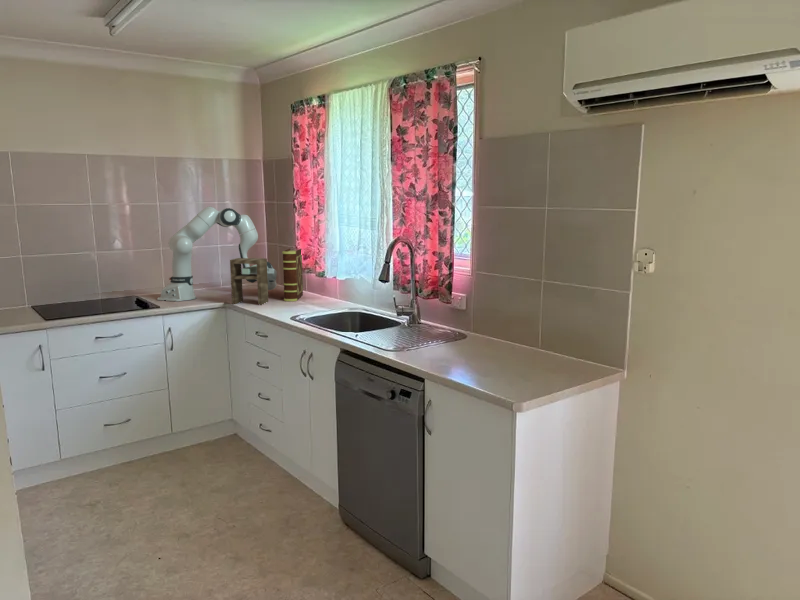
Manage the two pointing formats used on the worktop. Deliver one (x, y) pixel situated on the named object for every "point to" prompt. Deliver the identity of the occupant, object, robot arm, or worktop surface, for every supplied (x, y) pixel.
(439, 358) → the worktop surface
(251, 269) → the pale green bar
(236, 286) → the walnut shelf
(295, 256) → the decorative book
